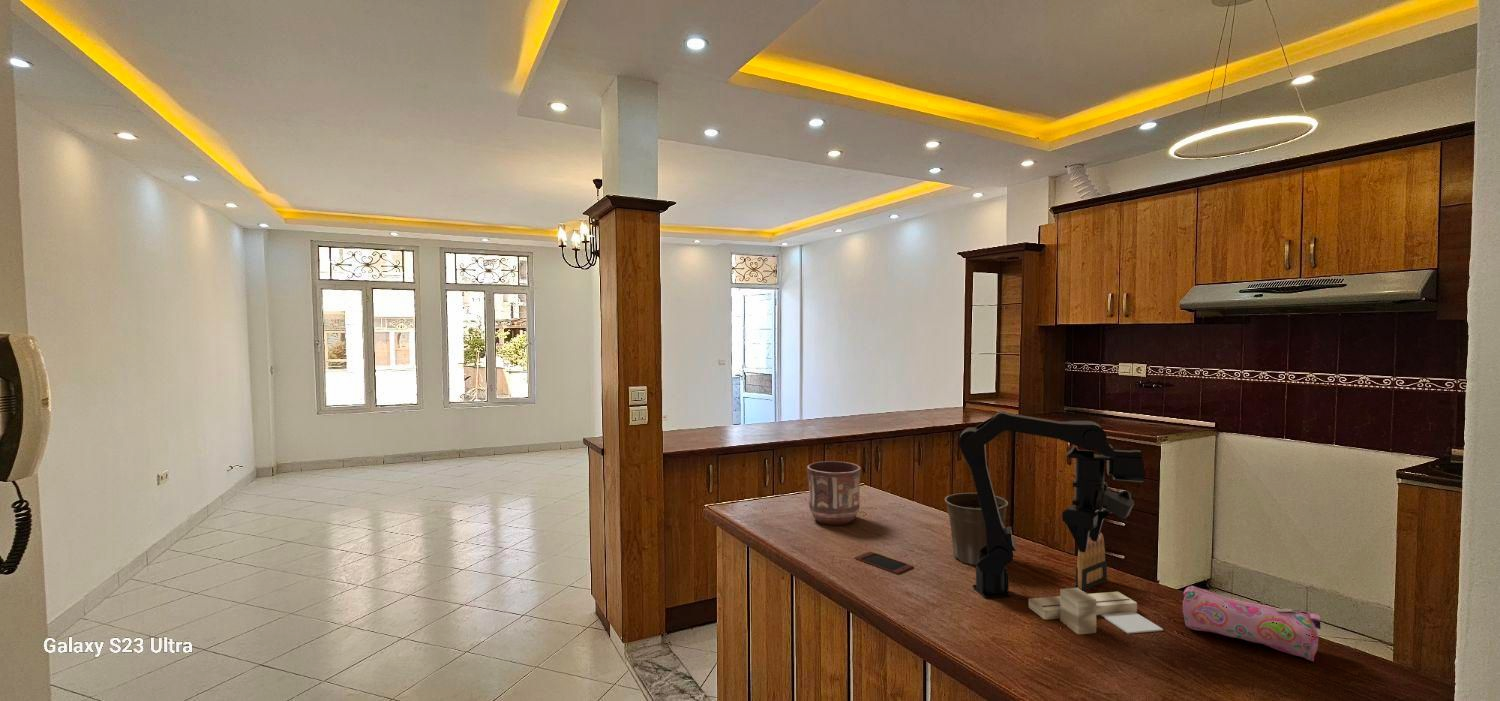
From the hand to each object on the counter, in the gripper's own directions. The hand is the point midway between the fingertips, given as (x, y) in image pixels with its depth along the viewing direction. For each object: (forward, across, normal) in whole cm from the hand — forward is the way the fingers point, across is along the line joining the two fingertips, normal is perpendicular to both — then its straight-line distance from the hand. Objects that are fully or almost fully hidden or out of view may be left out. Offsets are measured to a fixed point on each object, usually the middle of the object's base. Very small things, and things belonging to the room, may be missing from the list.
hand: (1088, 546), depth 141 cm
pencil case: (+14, +3, -28) cm, 31 cm away
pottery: (+15, +15, +80) cm, 83 cm away
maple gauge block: (+14, -12, -1) cm, 18 cm away
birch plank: (+14, -3, 0) cm, 14 cm away
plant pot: (+14, +12, +31) cm, 36 cm away
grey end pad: (+13, -4, -9) cm, 17 cm away
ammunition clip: (+14, +13, +2) cm, 19 cm away
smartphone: (+15, -8, +48) cm, 51 cm away
